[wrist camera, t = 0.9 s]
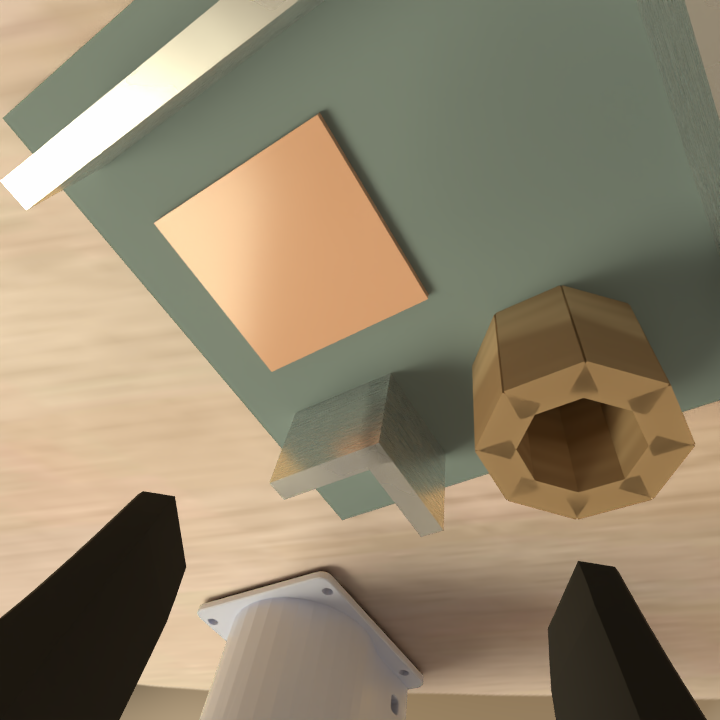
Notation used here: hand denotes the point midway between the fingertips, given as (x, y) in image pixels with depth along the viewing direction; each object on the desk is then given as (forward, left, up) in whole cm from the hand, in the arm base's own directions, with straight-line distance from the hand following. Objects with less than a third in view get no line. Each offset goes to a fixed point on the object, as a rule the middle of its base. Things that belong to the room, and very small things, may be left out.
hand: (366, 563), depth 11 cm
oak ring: (-4, -4, -9) cm, 11 cm away
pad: (+3, +2, -9) cm, 10 cm away
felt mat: (+2, -2, -10) cm, 10 cm away
